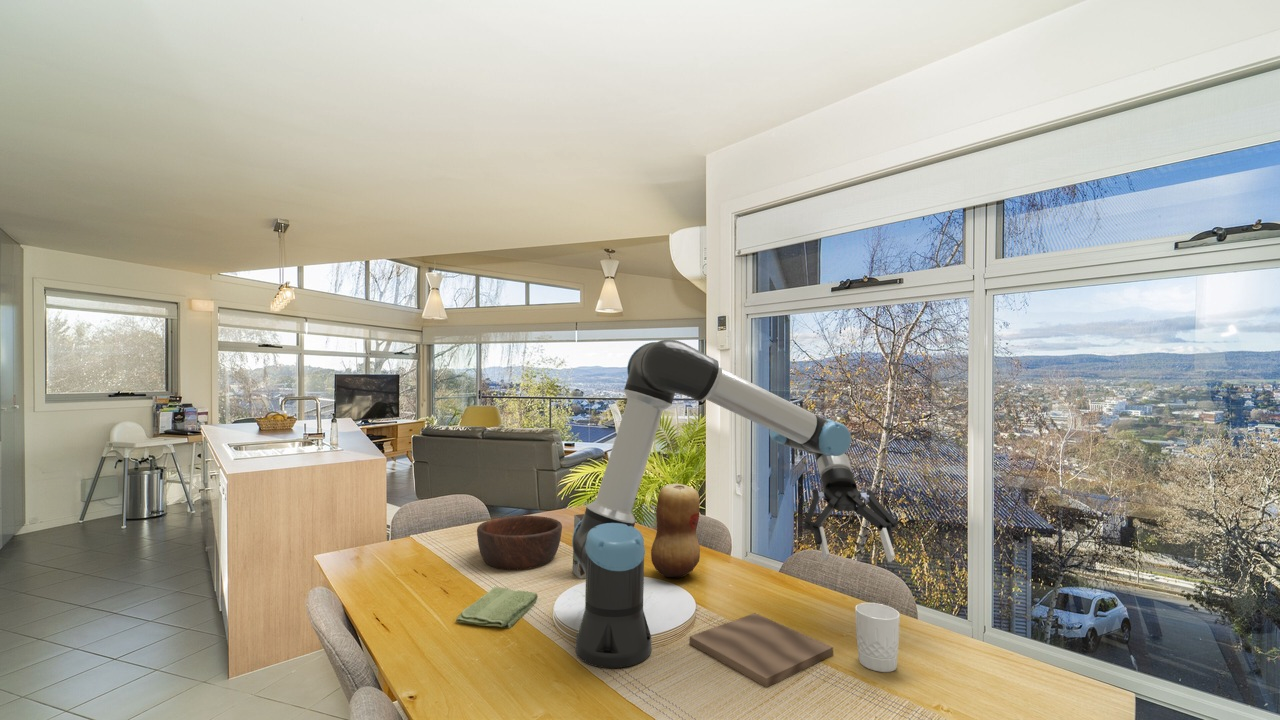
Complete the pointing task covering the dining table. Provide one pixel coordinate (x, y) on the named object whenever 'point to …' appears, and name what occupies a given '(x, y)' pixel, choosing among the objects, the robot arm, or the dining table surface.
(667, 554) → the butternut squash
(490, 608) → the washcloth
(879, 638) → the white cup
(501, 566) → the wooden bowl
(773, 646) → the walnut board
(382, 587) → the dining table surface
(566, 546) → the dining table surface
